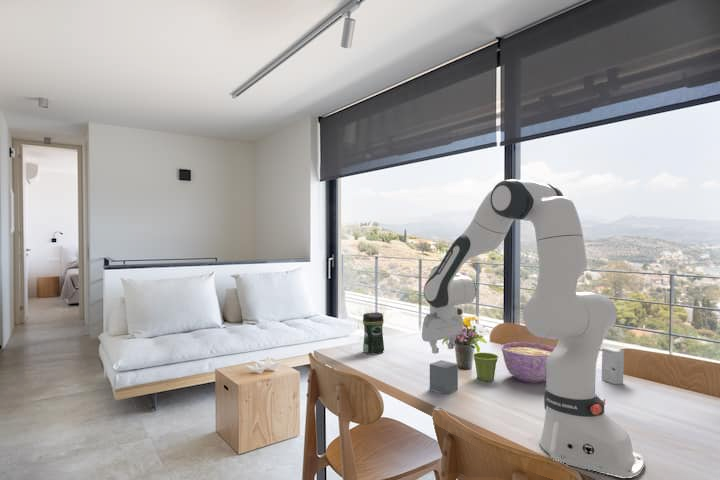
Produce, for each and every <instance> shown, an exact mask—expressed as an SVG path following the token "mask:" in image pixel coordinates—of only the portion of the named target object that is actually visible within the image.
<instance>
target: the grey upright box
mask: <svg viewBox="0 0 720 480" xmlns="http://www.w3.org/2000/svg"><path fill="white" fill-rule="evenodd" d="M458 366H459V365H458V363H455V362H450V361H446V360H442V359H441V360H438V361H435V362H432V363H429V390H430V389H433V390H437V391H440V392H443V393H442V394H446V395H447V394H450V393H449V392H451V391H453V390H455V391H457V390H458V389H459V385H458V384H459V383H458V382H459V375H458V374H459V371H458V369H459V367H458ZM451 393H452V392H451Z"/></svg>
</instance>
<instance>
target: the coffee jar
mask: <svg viewBox="0 0 720 480" xmlns="http://www.w3.org/2000/svg"><path fill="white" fill-rule="evenodd" d="M384 322H385V321H384V315H383V313H381V312H366V313H364V314H363V317H362V323H363V326H364V333H363V335H364V336H363V345H362V348H363V349H362V350H363V353H365V354H368V353H377V354H380V353H379V352H382V353H384V352H385V345H384V344H385V343H384V334H383V325H384ZM383 351H384V352H383Z"/></svg>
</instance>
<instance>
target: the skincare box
mask: <svg viewBox="0 0 720 480" xmlns="http://www.w3.org/2000/svg"><path fill="white" fill-rule="evenodd" d="M601 349H602V350H601V351H602V352H601V353H602V355H601V380H602V381H604V382H606V383H609V384H613V385H621V384H624V369H625V366H624V364H625V350H622V349H619V348H615V347H611V346H607V347H603V348H601Z"/></svg>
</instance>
